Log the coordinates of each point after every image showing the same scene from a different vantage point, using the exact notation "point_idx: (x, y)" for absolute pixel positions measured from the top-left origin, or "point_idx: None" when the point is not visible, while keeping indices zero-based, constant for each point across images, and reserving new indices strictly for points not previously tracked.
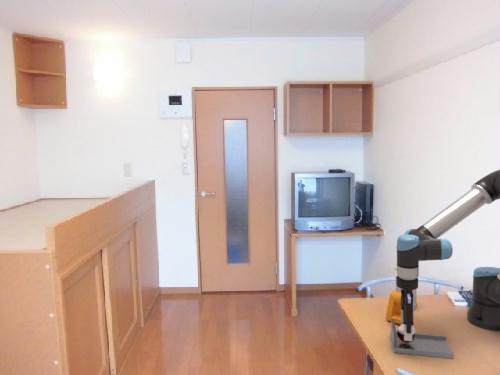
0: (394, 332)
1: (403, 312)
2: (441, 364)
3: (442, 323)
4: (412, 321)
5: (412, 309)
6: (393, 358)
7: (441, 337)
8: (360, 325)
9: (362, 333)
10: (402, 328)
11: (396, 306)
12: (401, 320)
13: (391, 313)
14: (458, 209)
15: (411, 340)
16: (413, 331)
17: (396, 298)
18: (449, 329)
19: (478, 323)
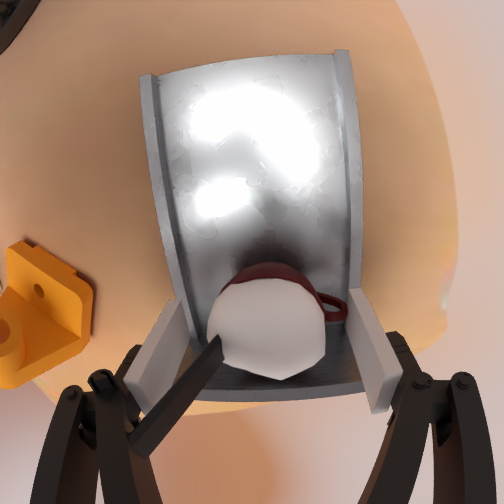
0: (344, 391)
1: (178, 417)
2: (407, 127)
3: (21, 122)
4: (478, 403)
5: (494, 497)
6: (390, 324)
7: (155, 97)
8: None
9: (224, 409)
10: (301, 368)
11: (25, 329)
12: (178, 365)
13: (68, 344)
14: None
15: (361, 293)
16: (308, 301)
17: (10, 367)
18: (53, 86)
19: (24, 10)
